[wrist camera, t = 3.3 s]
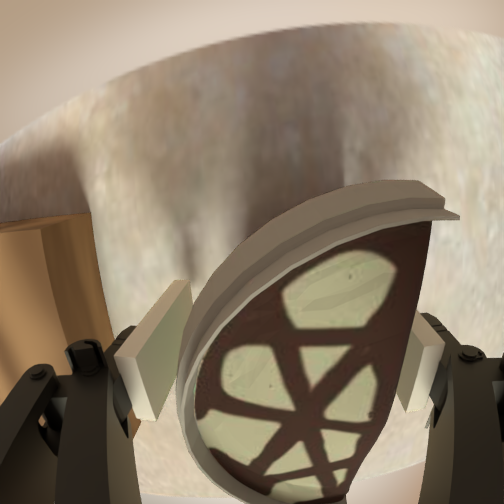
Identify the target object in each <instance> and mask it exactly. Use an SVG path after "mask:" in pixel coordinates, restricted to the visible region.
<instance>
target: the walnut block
mask: <svg viewBox="0 0 504 504" xmlns="http://www.w3.org/2000/svg"><path fill="white" fill-rule="evenodd" d="M83 339H95V340H98V341H99V342H100V343H101V346H102V349H103V352H105V351H106V349H107V348H108V347H109V346H110V345H111V343H112V342H113V341H114V336H113V332H112V328H111V324H110V320H109V316H108V311H107V307H106V302H105V298H104V293H103V288H102V283H101V278H100V272H99V267H98V261H97V255H96V248H95V242H94V235H93V227H92V219H91V213H81V214H71V215H61V216H52V217H43V218H35V219H27V220H19V221H12V222H4V223H0V406H1V404H2V403H3V401H4V400H5V399H6V397H7V396H8V394H9V393H10V392H11V390H12V389H13V387H14V386H15V385H16V383H17V382H18V381H19V379H20V378H21V376H22V375H23V374H24V373H25V372H26V371H27V370H28V369H29V368H30V367H32V366H33V365H37V364H45V363H46V364H50V365H51V366H53V368H54V370H55V372H56V375H72V370H71V368H70V365H69V363H68V360H67V358H66V355H65V352H64V351H65V349H66V348H67V347H68V346H69V345H70V344H72V343H74V342H76V341H79V340H83ZM128 417H129V420H130V422H131V428H132V439H133V438H134V436H135V434H136V432H137V430H138V428H139V426H140V424H141V421H140V419H137V418H136V416H135V413H134V411H133V408H131V410H130V412H129V414H128ZM39 423H40V425H41V426H43V425H44V423H45V420H44V419H43V417H42V415H41V417H40V419H39Z"/></svg>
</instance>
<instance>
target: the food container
mask: <svg viewBox="0 0 504 504" xmlns="http://www.w3.org/2000/svg"><path fill="white" fill-rule="evenodd" d="M444 205H445V198H444V197H442V196H441V195H440V194H438V193H437V192H435V191H434V190H432V189H431V188H429V187H428V186H426V185H425V184H423V183H421V182H420V181H416V180H381V181H375V182H368V183H362V184H356V185H350V186H346V187H343V188H340V189H337V190H334V191H331V192H328V193H326V194H323V195H320V196H317V197H314V198H311V199H308V200H307V201H305V202H303V203H301V204H299V205H297V206H296V207H294V208H292V209H290V210H288V211H286V212H285V213H283V214H281V215H279V216H277V217H275V218H274V219H272V220H270V221H269V222H268V223H266V224H265V225H264V226H263V227H261V228H260V229H259V230H258V231H256V232H255V233H254V234H252V235H251V236H250V237H249V238H247V239H246V240H245V241H243V242H242V243H241V244H240V245H238V247H237V248H236V249H235V250H234V251H233V252H232V253H231V254H230V255H229V256H228V257H227V259H226V260H225V261H224V262H223V263H222V264H221V265H220V266H219V267H218V268H217V269H216V271H215V272H214V273H213V274H212V276H211V277H210V279H209V280H208V282H207V283H206V285H205V287H204V288H203V290H202V291H201V293H200V294H199V296H198V298H197V299H196V301H195V302H194V305H193V307H192V310H191V312H190V315H189V317H188V320H187V322H186V325H185V327H184V330H183V335H182V340H181V346H180V352H179V357H178V368H177V379H176V404H177V414H178V418H179V421H180V424H181V428H182V434H183V437H184V440H185V443H186V446H187V449H188V452H189V453H190V455H191V457H192V458H193V460H194V461H195V463H196V465H197V466H198V468H199V469H200V470H201V471H202V472H203V473H204V474H205V476H206V477H207V478H208V479H209V480H210V481H211V482H212V483H213V484H215V485H216V486H217V487H219V488H220V489H221V490H223V491H224V492H225V493H227V494H228V495H230V496H232V497H234V498H236V499H238V500H239V501H241V502H243V503H245V504H347V502H346V494H347V493H348V491H349V488H350V485H351V483H352V480H353V479H354V477H355V475H356V473H357V471H358V469H359V467H360V465H361V464H362V462H363V460H364V459H365V457H366V456H367V454H368V453H369V451H370V450H371V448H372V447H373V445H374V444H375V442H376V440H377V439H378V437H379V435H380V433H381V431H382V430H383V428H384V426H385V424H386V422H387V419H388V416H389V413H390V410H391V407H392V404H393V401H394V398H395V394H396V390H397V386H398V382H399V378H400V374H401V370H402V366H403V362H404V358H405V354H406V350H407V345H408V341H409V336H410V332H411V329H412V325H413V321H414V317H415V313H416V309H417V304H418V300H419V295H420V290H421V286H422V281H423V275H424V270H425V265H426V259H427V253H428V247H429V240H430V234H431V226H432V220H460V216H459V215H457V214H455V213H452V212H450V211H448V210H445V209H444Z"/></svg>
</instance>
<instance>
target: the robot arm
mask: <svg viewBox="0 0 504 504" xmlns="http://www.w3.org/2000/svg"><path fill="white" fill-rule="evenodd" d="M192 307H193V301H192V294H191V287H190V280H174V281H173V283H172V284H171V285H170V286H169V287H168V289H167V290H166V291H165V292H164V293H163V295H162V296H161V297H160V298H159V300H158V301H157V302H156V303H155V304H154V306H153V307H152V308H151V309H150V311H149V312H148V313H147V314H146V316H145V317H144V318H143V319H142V320H141V322H140V323H139V324H138V325H137V326H130V327H128V328H126V329H125V330H123V331H122V332H121V333H120V334H119V335H118V336H117V338H116V340H114V341H113V342H112V343H111V345H110V346H109V347H108V348H107V349H106V351H105V352H103V349H102V346H101V343H100V342H99V341H98V340H95V339H83V340H79V341H76V342H74V343H72V344H70V345H69V346H68V347H67V348H66V349H65V351H64V352H65V355H66V358H67V360H68V363H69V365H70V368H71V370H72V375H56V372H55V370H54V368H53V366H51V365H50V364H46V363H45V364H37V365H33V366H32V367H30V368H29V369H28V370H27V371H26V372H25V373H24V374H23V375H22V376H21V378H20V379H19V381H18V382H17V383H16V385H15V386H14V387H13V389H12V390H11V392H10V393H9V394H8V396H7V397H6V399H5V400H4V401H3V403H2V404H1V406H0V504H142V502H141V497H140V491H139V485H138V478H137V471H136V464H135V456H134V448H133V439H132V428H131V422H130V420H129V417H128V414H129V412H130V410H131V408H133V411H134V413H135V416H136V418H137V419H143V420H150V421H157V419H158V417H159V414H160V412H161V410H162V407H163V405H164V403H165V401H166V398H167V396H168V394H169V391H170V389H171V387H172V385H173V382H174V380H175V378H176V376H177V368H178V357H179V352H180V346H181V340H182V335H183V330H184V327H185V325H186V322H187V320H188V317H189V315H190V312H191V310H192ZM396 393H397V395H398V397H399V399H400V401H401V404H402V406H403V408H404V410H405V412H406V413H408V412H413V411H417V410H422V409H425V407H426V405H427V402H428V399H429V396H430V397H431V399H432V401H433V403H434V406H433V408H432V411H431V413H430V416H429V418H428V421H427V423H426V426H425V428H428V426H429V424H430V429H429V439H428V448H427V456H426V463H425V470H424V476H423V482H422V488H421V493H420V498H419V502H418V504H504V353H503V356H502V358H486V356H485V354H484V352H483V351H481V350H480V349H479V348H476V347H474V346H470V345H461V344H460V343H459V342H458V341H457V340H456V338H455V337H454V336H453V335H452V334H451V333H450V332H449V331H447V329H446V328H445V326H444V325H443V326H442V323H441V322H440V321H439V320H438V319H437V318H436V317H434V316H432V315H430V314H429V313H419V312H418V311H417V310H416V313H415V317H414V321H413V325H412V329H411V332H410V336H409V341H408V345H407V350H406V354H405V358H404V362H403V366H402V370H401V374H400V378H399V382H398V386H397V390H396ZM41 415H42V417H43V419H44V420H45V423H44V425H43V426H41V425H40V423H39V419H40V417H41ZM54 501H55V502H54Z"/></svg>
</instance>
